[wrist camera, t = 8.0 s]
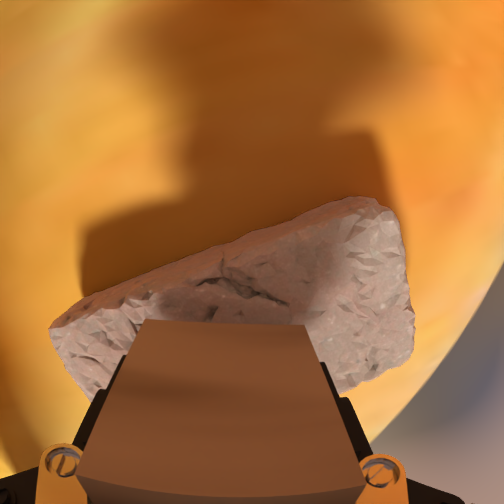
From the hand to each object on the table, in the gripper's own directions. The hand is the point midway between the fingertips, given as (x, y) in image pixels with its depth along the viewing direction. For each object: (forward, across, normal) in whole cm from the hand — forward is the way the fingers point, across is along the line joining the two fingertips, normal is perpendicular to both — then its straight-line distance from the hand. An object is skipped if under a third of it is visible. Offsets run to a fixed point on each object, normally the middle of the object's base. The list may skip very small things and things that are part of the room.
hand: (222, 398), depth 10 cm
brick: (+7, -1, 0) cm, 7 cm away
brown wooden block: (+1, 0, 0) cm, 1 cm away
